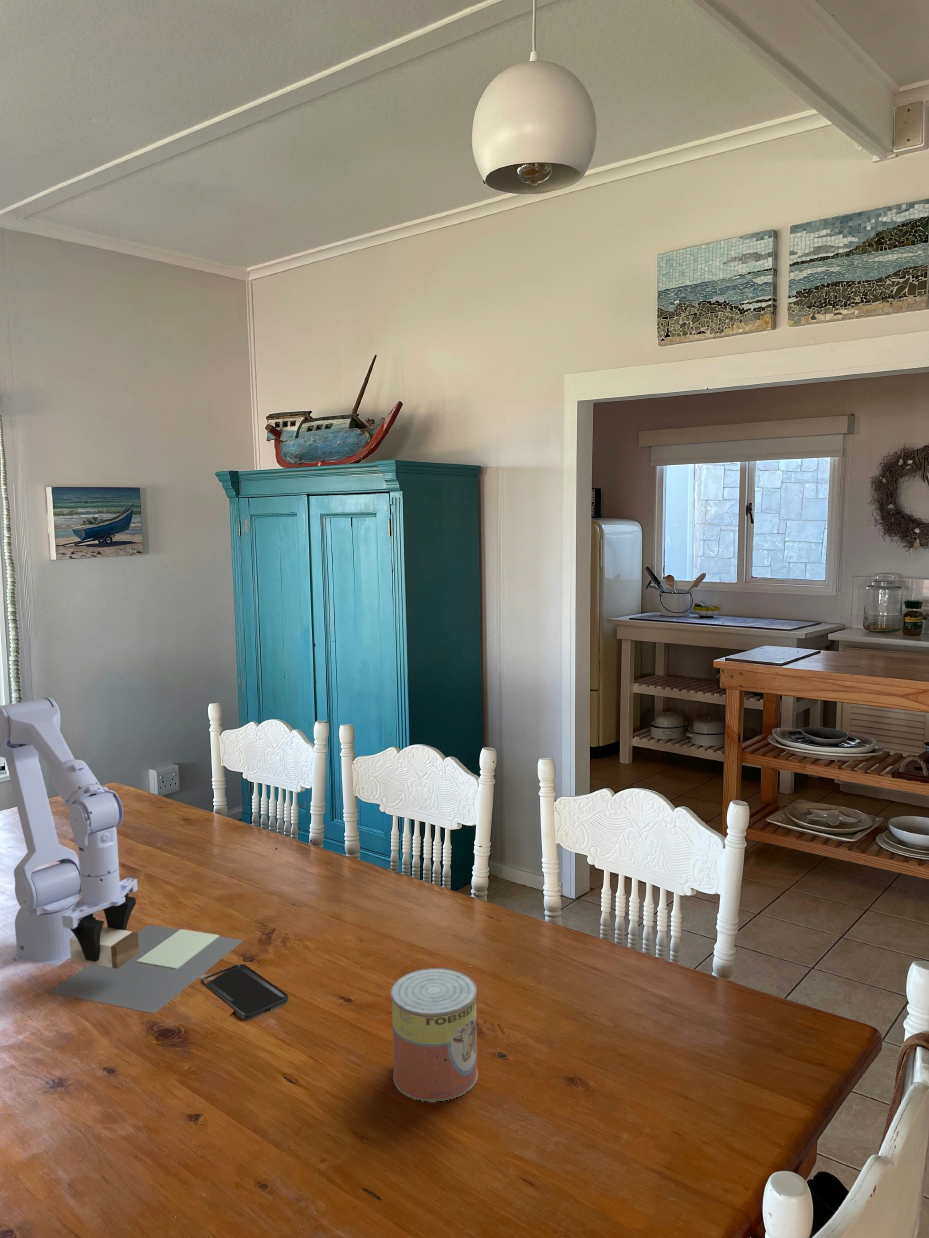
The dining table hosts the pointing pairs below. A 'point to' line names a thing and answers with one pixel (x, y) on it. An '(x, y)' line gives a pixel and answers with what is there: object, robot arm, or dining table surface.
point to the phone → (246, 991)
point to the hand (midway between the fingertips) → (104, 951)
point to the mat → (143, 975)
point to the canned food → (434, 1034)
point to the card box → (110, 948)
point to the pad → (178, 949)
